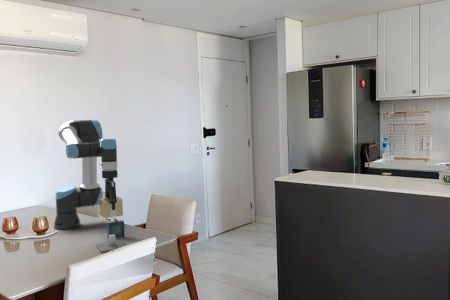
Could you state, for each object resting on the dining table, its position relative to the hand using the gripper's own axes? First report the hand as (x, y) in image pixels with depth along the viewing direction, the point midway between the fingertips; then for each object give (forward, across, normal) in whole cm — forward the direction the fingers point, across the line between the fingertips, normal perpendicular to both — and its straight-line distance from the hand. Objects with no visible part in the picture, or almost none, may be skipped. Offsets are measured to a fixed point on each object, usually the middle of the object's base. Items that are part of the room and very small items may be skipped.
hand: (111, 213), depth 209 cm
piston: (+17, 0, 0) cm, 17 cm away
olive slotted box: (0, 0, 0) cm, 0 cm away
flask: (+17, -16, +5) cm, 24 cm away
